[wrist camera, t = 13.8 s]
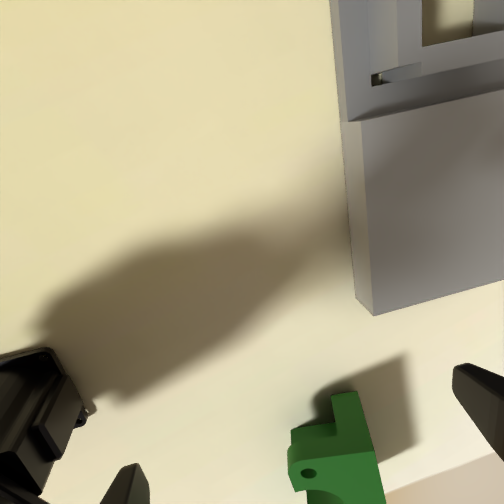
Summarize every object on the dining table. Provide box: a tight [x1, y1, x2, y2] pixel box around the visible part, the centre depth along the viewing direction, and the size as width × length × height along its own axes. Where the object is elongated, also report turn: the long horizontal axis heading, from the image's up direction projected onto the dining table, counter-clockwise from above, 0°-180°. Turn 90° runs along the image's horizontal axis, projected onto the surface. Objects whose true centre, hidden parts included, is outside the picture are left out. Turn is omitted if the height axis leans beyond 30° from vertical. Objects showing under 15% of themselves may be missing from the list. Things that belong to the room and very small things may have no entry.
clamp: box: [287, 391, 386, 504], centre depth 26 cm, size 12×6×9 cm, turn 11°
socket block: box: [329, 0, 504, 316], centre depth 18 cm, size 11×23×4 cm, turn 11°
